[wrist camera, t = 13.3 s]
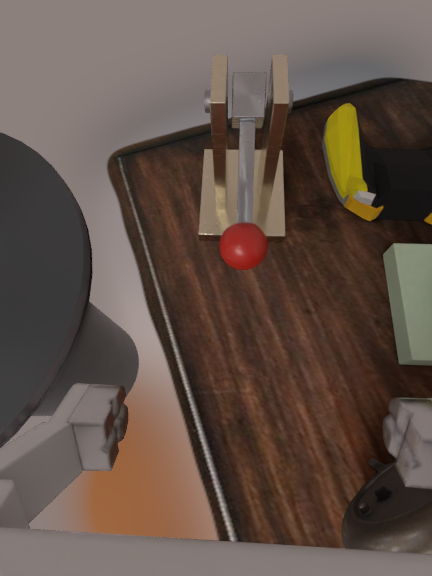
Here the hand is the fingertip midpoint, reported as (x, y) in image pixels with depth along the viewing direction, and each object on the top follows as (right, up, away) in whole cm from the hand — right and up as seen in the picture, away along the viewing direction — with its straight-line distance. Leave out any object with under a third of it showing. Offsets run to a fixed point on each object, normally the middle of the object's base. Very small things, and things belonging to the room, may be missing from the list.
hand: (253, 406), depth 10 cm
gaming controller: (+17, +14, +23) cm, 32 cm away
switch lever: (+1, +12, +16) cm, 20 cm away
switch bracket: (+1, +13, +23) cm, 27 cm away
